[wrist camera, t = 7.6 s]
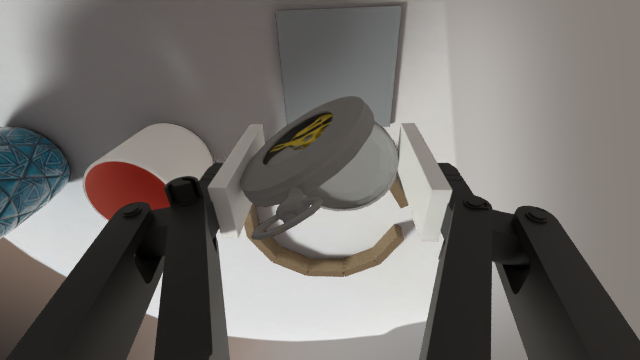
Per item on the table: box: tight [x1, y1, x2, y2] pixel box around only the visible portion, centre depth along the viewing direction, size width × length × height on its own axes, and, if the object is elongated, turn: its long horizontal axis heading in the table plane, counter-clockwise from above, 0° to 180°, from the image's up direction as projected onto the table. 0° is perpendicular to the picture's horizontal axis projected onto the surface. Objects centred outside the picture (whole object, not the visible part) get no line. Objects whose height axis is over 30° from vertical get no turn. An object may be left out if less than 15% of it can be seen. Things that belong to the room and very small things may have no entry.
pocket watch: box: [240, 96, 399, 240], centre depth 13 cm, size 8×8×10 cm
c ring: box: [244, 177, 408, 277], centre depth 40 cm, size 22×22×2 cm
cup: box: [83, 123, 213, 222], centre depth 34 cm, size 10×10×10 cm
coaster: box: [275, 6, 402, 127], centre depth 31 cm, size 12×12×1 cm
